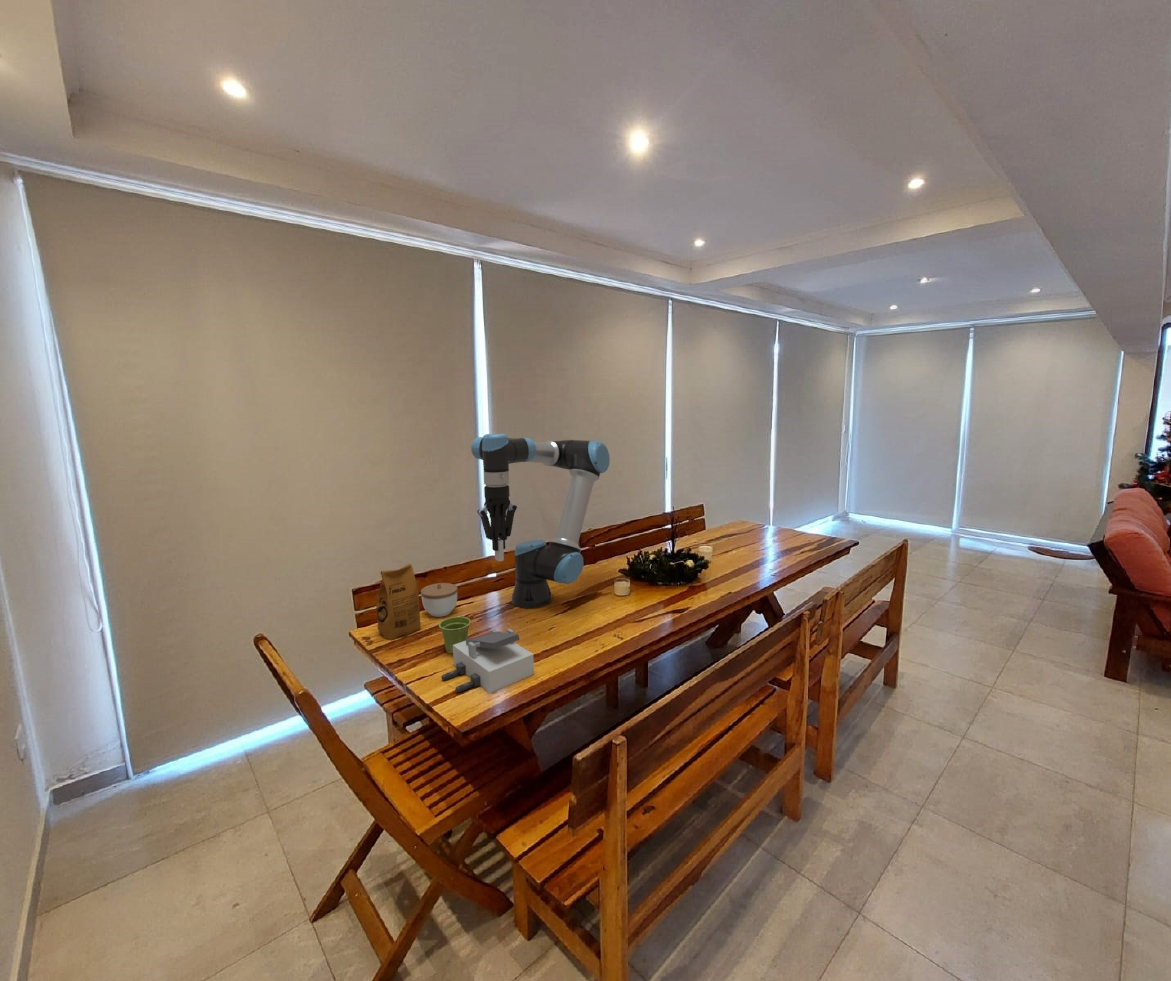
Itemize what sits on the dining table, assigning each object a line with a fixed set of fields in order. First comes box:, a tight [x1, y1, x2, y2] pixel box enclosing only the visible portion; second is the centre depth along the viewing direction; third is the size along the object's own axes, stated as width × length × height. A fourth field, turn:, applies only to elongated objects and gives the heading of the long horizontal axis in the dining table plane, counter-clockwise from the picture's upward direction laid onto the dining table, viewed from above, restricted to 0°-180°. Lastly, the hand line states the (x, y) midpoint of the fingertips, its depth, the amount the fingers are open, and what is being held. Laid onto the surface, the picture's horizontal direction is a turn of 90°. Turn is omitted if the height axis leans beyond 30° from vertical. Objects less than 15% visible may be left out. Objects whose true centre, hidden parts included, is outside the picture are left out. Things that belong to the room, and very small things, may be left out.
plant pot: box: [438, 616, 472, 654], centre depth 156 cm, size 9×9×9 cm
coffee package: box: [376, 563, 421, 641], centre depth 167 cm, size 10×12×22 cm
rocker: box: [465, 630, 520, 649], centre depth 143 cm, size 11×16×2 cm, turn 42°
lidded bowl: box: [420, 582, 458, 618], centre depth 183 cm, size 13×13×11 cm
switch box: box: [441, 628, 535, 694], centre depth 141 cm, size 21×20×10 cm
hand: (499, 560), depth 158 cm, fingers closed
